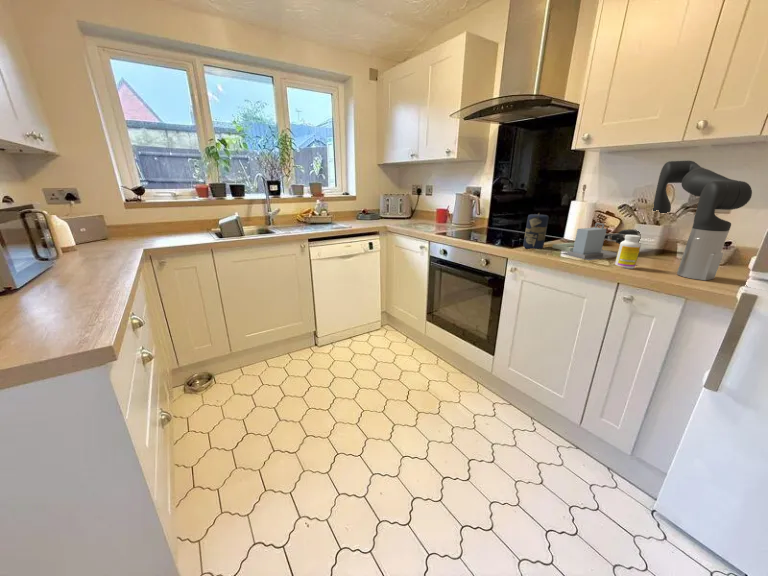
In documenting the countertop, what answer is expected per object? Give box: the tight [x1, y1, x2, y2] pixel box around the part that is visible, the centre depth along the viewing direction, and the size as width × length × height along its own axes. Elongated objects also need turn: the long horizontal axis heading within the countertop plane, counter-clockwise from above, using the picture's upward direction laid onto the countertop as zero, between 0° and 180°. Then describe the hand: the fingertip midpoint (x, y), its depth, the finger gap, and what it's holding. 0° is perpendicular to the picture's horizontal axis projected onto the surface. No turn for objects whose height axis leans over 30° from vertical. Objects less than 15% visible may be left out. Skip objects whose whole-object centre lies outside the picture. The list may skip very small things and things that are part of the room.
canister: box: [522, 212, 550, 250], centre depth 157 cm, size 10×10×18 cm
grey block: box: [573, 222, 608, 255], centre depth 140 cm, size 5×12×14 cm, turn 112°
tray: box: [552, 241, 575, 252], centre depth 156 cm, size 10×17×2 cm, turn 112°
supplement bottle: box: [614, 235, 642, 270], centre depth 124 cm, size 7×7×13 cm
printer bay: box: [560, 249, 618, 261], centre depth 144 cm, size 14×27×2 cm, turn 112°
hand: (607, 239), depth 144 cm, fingers open, 8 cm apart
